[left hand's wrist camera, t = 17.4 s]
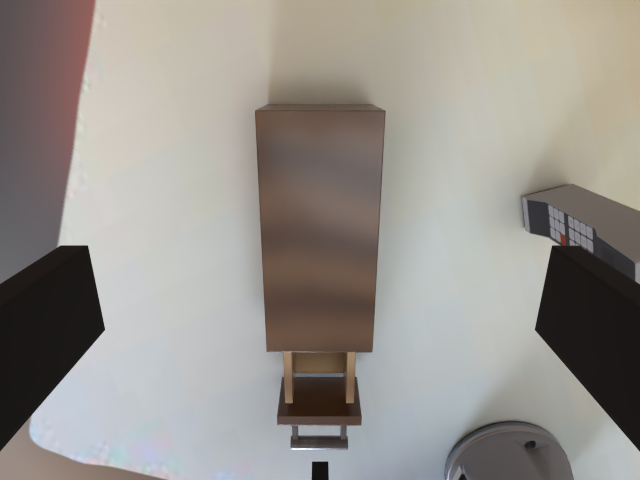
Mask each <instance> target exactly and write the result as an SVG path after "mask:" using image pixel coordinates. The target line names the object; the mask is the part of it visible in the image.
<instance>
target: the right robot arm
mask: <svg viewBox="0 0 640 480" xmlns="http://www.w3.org/2000/svg"><path fill="white" fill-rule="evenodd" d="M312 480H329V478H328V462H312ZM445 480H574V478H573V474H572V470H571V466H570V463H569V461H568V458H567V456H566V454H565V452H564V450H563V449H562V447H561V446H560V444H559V443H558V441H557V440H556V439H555V438H554V437H553V436H552V435H551V434H550V433H549V432H547V431H546V430H544V429H542V428H540V427H537V426H535V425H531V424H527V423H520V422H505V423H498V424H493V425H490V426H486V427H484V428H481V429H479V430H477V431H475V432H473V433H471V434H470V435H468V436H466V437H465V438H464V439H463V440H461V441H460V442H459V443H458V444H457V445H456V446H455V448H454V449H453V450H452V452H451V453H450V455H449V457H448V459H447V462H446V465H445Z"/></svg>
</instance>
